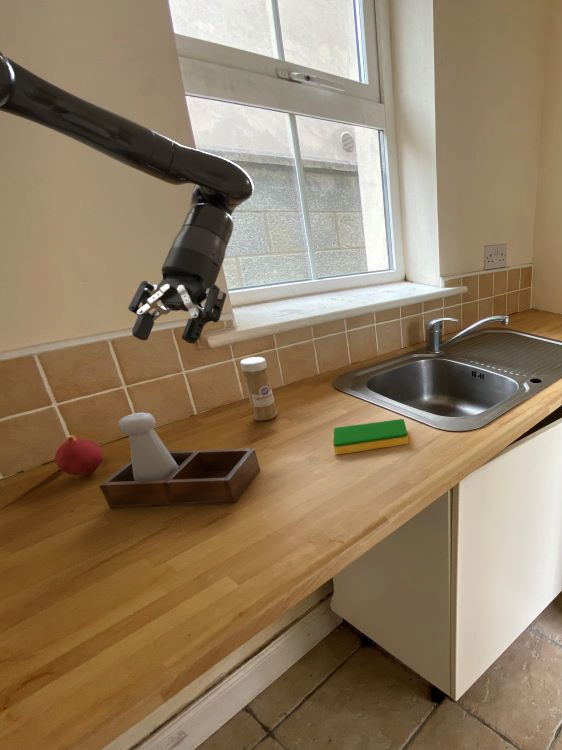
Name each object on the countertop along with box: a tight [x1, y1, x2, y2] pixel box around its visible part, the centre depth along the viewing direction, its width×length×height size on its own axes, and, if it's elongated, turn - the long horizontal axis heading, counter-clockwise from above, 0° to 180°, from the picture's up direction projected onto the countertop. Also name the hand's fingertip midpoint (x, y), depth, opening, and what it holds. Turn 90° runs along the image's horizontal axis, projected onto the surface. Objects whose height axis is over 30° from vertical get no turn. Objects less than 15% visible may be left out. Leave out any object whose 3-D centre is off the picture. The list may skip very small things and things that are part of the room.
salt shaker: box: [117, 411, 179, 481], centre depth 72 cm, size 6×6×13 cm
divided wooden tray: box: [99, 448, 261, 510], centre depth 75 cm, size 18×10×5 cm, turn 97°
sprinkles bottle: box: [239, 356, 278, 422], centre depth 96 cm, size 5×5×14 cm
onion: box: [54, 435, 105, 477], centre depth 76 cm, size 6×6×8 cm
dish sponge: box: [332, 418, 409, 455], centre depth 91 cm, size 7×14×2 cm, turn 111°
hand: (163, 339), depth 74 cm, fingers open, 8 cm apart
